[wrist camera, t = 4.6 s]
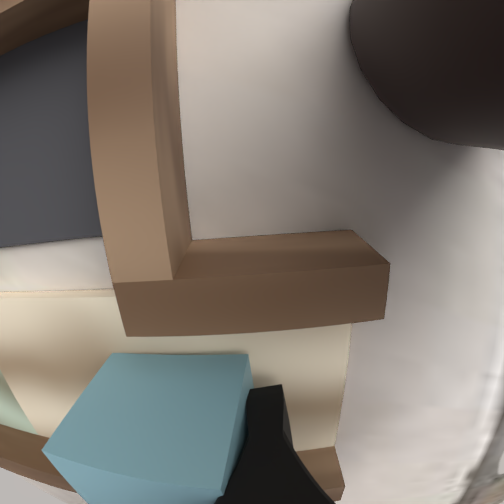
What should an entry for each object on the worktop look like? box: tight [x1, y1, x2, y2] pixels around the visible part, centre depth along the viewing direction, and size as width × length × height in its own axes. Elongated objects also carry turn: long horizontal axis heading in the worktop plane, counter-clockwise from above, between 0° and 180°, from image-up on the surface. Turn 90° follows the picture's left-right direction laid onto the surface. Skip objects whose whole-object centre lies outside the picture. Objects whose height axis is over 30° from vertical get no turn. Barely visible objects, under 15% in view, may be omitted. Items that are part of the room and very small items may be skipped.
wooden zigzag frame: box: [0, 0, 390, 501], centre depth 9 cm, size 21×22×3 cm
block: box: [42, 353, 254, 504], centre depth 9 cm, size 5×5×5 cm
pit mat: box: [0, 19, 103, 247], centre depth 8 cm, size 8×9×1 cm
